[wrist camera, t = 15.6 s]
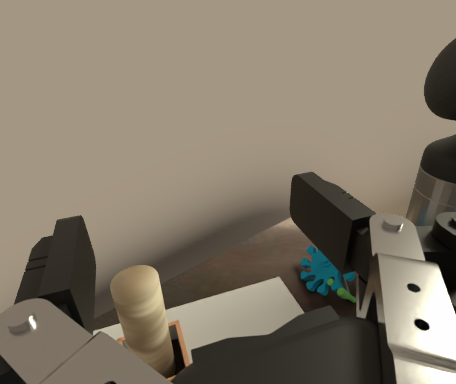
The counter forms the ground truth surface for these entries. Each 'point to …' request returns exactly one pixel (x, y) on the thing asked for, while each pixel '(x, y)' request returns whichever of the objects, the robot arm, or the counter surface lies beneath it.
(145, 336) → the peg
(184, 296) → the counter surface
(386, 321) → the robot arm
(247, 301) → the white peg hole board
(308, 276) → the gear
